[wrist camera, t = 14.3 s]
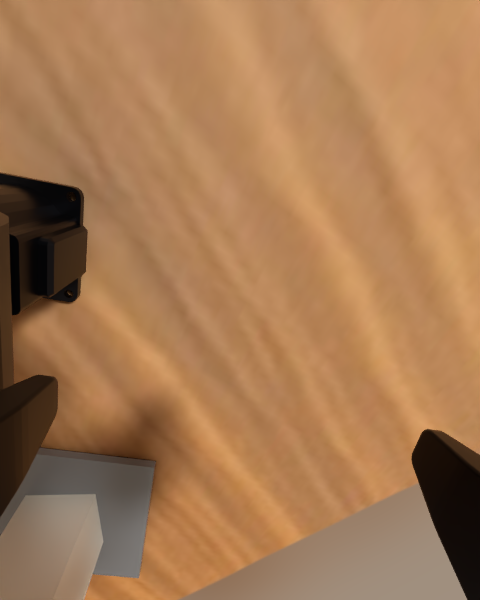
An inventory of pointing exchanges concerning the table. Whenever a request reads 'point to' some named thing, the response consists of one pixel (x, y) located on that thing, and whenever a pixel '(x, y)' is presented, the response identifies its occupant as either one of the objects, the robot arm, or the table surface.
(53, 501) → the cream block
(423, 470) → the robot arm
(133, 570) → the slate coaster
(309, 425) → the table surface
